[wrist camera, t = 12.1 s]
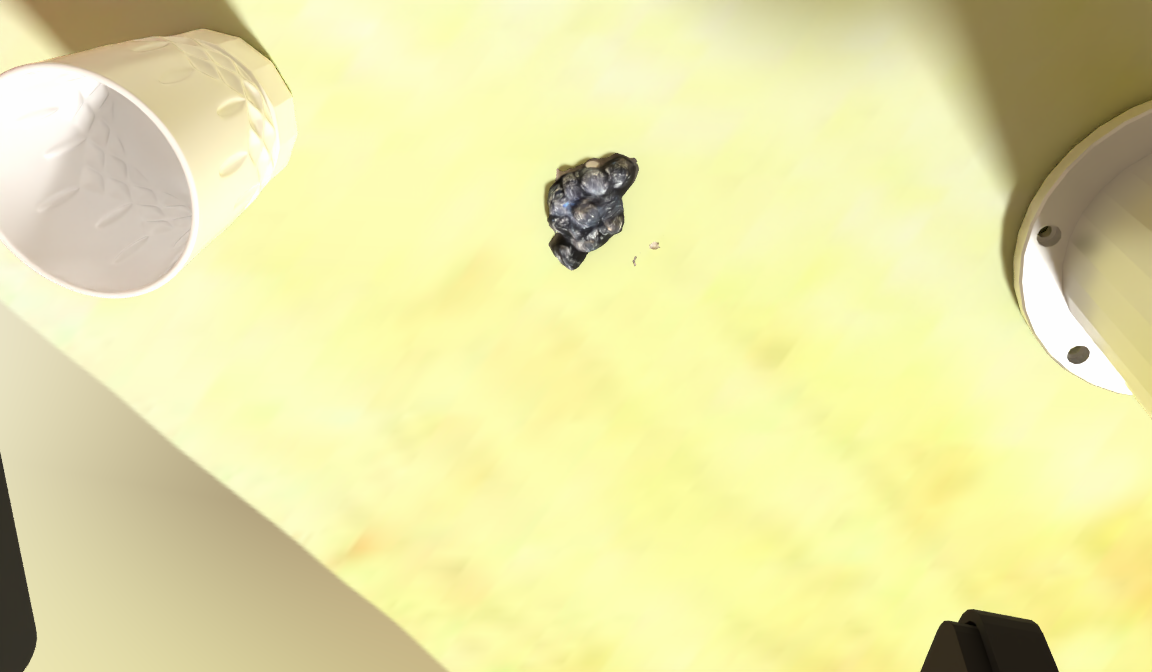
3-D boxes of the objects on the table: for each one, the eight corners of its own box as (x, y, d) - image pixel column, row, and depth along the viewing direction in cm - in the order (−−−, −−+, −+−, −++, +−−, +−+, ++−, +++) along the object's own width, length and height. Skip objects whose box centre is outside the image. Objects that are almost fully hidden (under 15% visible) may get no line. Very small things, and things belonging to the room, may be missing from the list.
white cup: (152, -23, 37) (-23, 16, 28) (337, 69, 37) (224, 135, 29) (113, 152, 40) (-53, 235, 31) (282, 232, 41) (167, 335, 32)
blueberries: (710, 159, 38) (712, 169, 36) (634, 325, 41) (633, 342, 40) (557, 96, 38) (551, 103, 36) (492, 268, 41) (484, 282, 39)
